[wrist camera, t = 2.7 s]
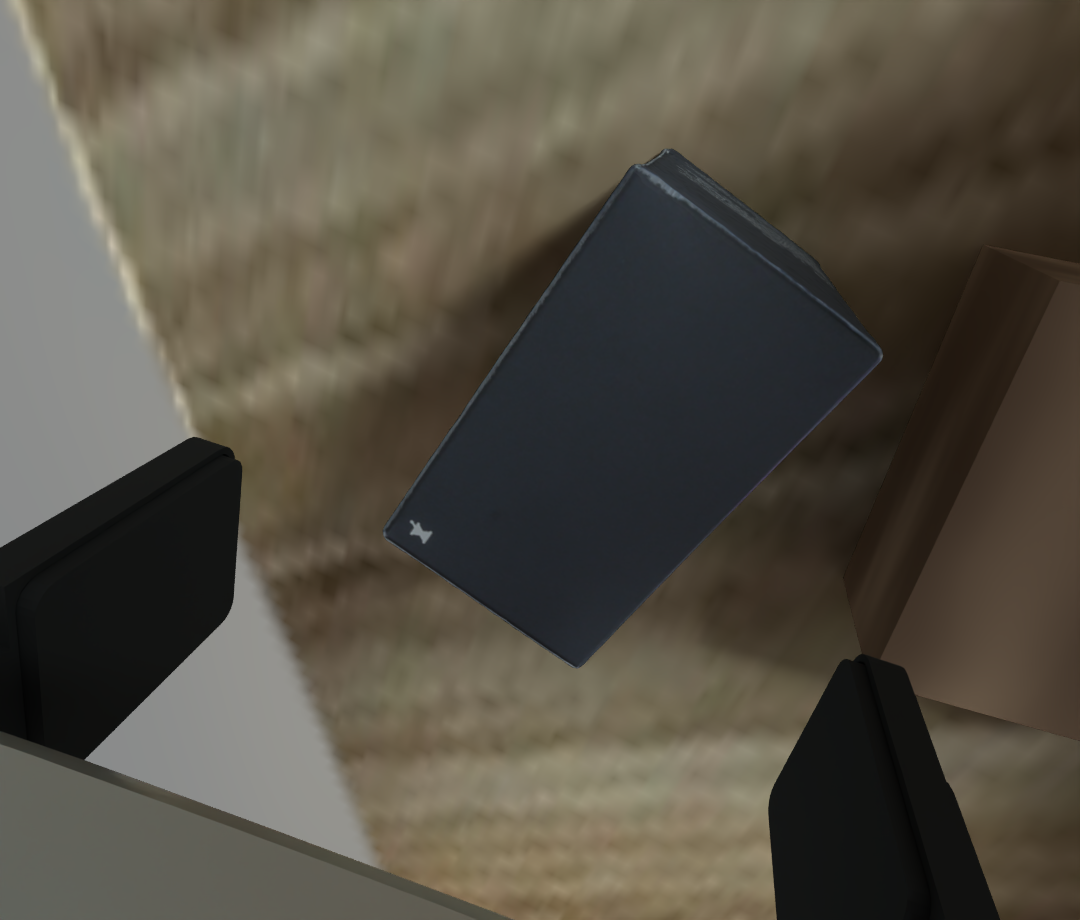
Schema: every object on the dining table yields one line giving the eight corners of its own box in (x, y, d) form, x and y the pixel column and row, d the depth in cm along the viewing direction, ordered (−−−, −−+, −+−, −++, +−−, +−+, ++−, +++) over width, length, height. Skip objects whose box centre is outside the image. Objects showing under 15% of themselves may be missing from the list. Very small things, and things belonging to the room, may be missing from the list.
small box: (629, 500, 28) (578, 689, 19) (487, 397, 28) (363, 537, 18) (833, 268, 23) (904, 364, 14) (665, 139, 23) (621, 149, 13)
